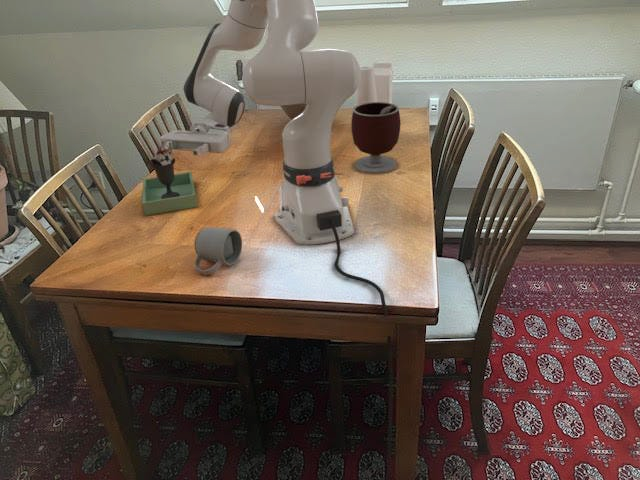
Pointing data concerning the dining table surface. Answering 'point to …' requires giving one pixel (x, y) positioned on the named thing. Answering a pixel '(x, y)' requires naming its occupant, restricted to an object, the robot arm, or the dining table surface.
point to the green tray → (156, 190)
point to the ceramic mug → (217, 247)
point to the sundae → (164, 171)
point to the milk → (383, 82)
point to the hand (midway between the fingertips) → (180, 151)
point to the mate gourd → (375, 135)
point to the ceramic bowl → (294, 110)
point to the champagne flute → (366, 86)
